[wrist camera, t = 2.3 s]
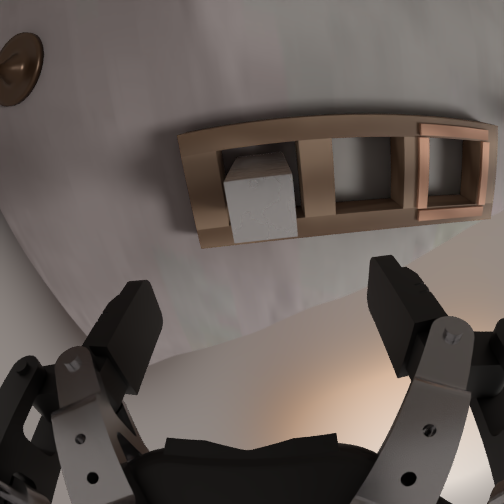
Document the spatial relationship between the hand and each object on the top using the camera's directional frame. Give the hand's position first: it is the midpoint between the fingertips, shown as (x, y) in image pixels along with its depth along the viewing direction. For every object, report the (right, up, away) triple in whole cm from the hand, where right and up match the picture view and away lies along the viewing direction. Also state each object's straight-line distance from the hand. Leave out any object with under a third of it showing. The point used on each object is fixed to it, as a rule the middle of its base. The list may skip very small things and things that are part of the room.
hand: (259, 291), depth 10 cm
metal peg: (+1, +8, +15) cm, 17 cm away
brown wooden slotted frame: (+10, +9, +14) cm, 19 cm away
